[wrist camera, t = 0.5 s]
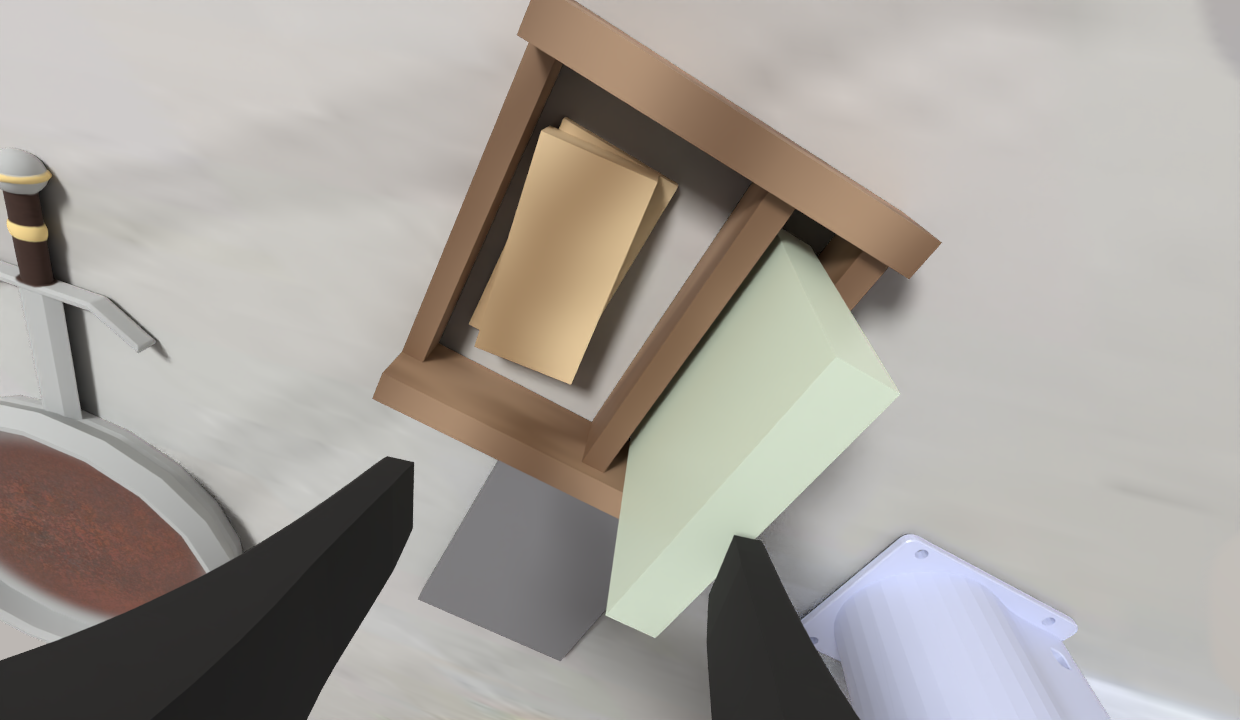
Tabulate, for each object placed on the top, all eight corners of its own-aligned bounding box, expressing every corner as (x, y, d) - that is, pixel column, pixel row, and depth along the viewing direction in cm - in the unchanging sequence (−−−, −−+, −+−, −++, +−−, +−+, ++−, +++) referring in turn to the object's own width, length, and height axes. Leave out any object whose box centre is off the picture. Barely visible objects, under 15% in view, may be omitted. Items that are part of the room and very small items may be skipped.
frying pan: (233, 251, 19) (226, 708, 32) (287, 228, 21) (260, 660, 34) (-323, 53, 17) (-91, 615, 30) (-194, 54, 20) (-31, 572, 33)
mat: (672, 524, 25) (671, 534, 25) (562, 650, 30) (560, 661, 30) (507, 443, 24) (504, 452, 23) (422, 589, 29) (417, 599, 28)
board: (810, 246, 19) (900, 393, 11) (666, 433, 23) (655, 638, 15) (772, 222, 18) (836, 356, 11) (633, 416, 23) (605, 615, 15)
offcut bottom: (678, 178, 19) (678, 186, 18) (571, 359, 22) (565, 374, 21) (571, 113, 18) (563, 117, 17) (479, 310, 22) (468, 324, 21)
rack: (904, 213, 18) (941, 242, 15) (673, 490, 24) (671, 544, 21) (562, -8, 16) (537, -18, 13) (409, 356, 22) (372, 398, 20)
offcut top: (659, 173, 18) (657, 181, 17) (576, 368, 21) (570, 384, 20) (550, 125, 17) (540, 130, 16) (484, 331, 21) (474, 346, 20)
